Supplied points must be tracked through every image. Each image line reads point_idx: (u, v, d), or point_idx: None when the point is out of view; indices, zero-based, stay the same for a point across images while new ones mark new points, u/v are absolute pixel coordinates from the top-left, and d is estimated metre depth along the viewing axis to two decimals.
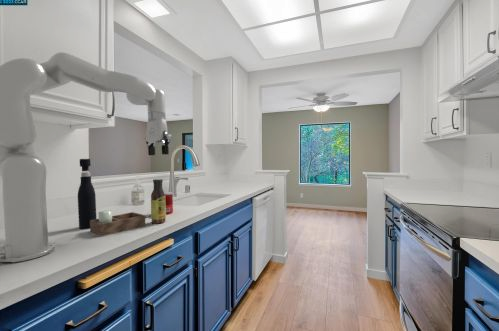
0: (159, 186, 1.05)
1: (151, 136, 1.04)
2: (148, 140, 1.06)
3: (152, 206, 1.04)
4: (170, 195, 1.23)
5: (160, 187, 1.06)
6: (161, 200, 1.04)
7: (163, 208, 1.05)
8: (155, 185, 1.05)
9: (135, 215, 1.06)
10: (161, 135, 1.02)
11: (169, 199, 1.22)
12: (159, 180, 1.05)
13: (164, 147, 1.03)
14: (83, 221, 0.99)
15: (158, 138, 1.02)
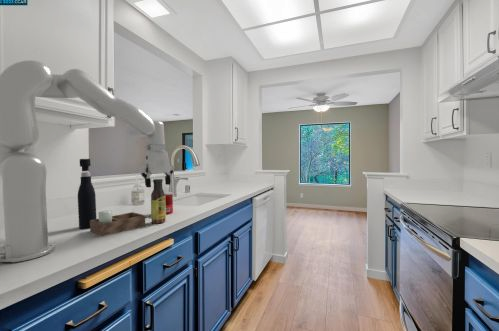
0: (159, 186, 1.05)
1: (159, 168, 1.04)
2: (154, 172, 1.02)
3: (152, 206, 1.04)
4: (170, 195, 1.23)
5: (160, 187, 1.06)
6: (161, 200, 1.04)
7: (163, 208, 1.05)
8: (155, 185, 1.05)
9: (135, 215, 1.06)
10: None
11: (169, 199, 1.22)
12: (159, 180, 1.05)
13: (169, 178, 1.10)
14: (83, 221, 0.99)
15: (168, 169, 1.08)
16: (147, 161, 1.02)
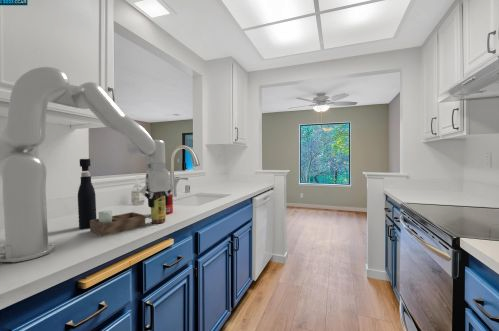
0: None
1: (159, 186, 1.04)
2: (154, 190, 1.02)
3: None
4: (170, 195, 1.23)
5: None
6: (161, 200, 1.04)
7: (163, 208, 1.05)
8: None
9: (135, 215, 1.06)
10: None
11: (169, 199, 1.22)
12: None
13: (167, 198, 1.09)
14: (83, 221, 0.99)
15: (169, 188, 1.08)
16: (147, 180, 1.02)
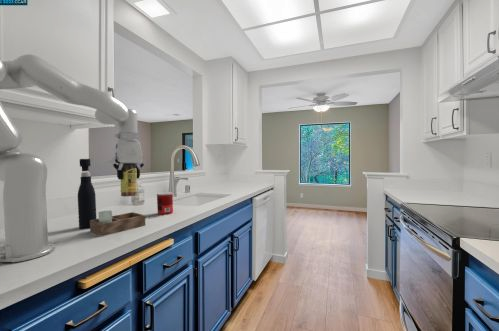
0: None
1: (130, 157, 0.99)
2: (124, 161, 0.97)
3: None
4: (170, 195, 1.23)
5: None
6: (131, 172, 0.99)
7: (133, 181, 1.00)
8: None
9: (135, 215, 1.06)
10: None
11: (169, 199, 1.22)
12: None
13: (139, 171, 1.04)
14: (83, 221, 0.99)
15: (140, 160, 1.03)
16: (116, 150, 0.97)
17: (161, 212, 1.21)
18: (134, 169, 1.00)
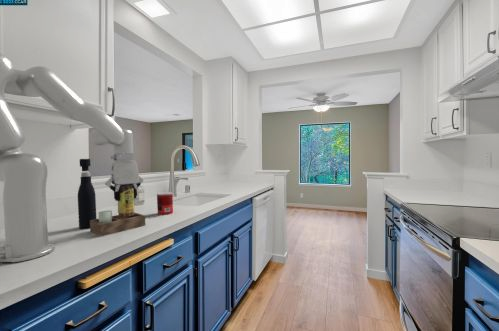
0: None
1: (126, 178, 0.99)
2: (120, 183, 0.97)
3: None
4: (170, 195, 1.23)
5: None
6: (128, 193, 0.99)
7: (131, 202, 1.00)
8: None
9: (135, 215, 1.06)
10: None
11: (169, 199, 1.22)
12: None
13: (136, 191, 1.04)
14: (83, 221, 0.99)
15: (137, 180, 1.02)
16: (113, 171, 0.96)
17: (161, 212, 1.21)
18: (131, 189, 1.00)
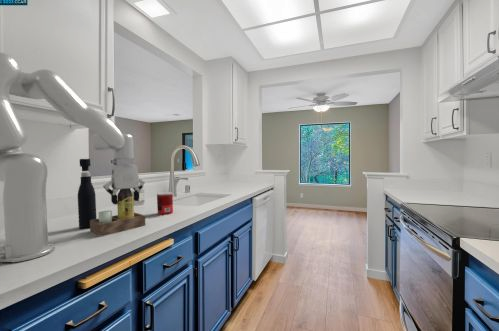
0: None
1: (126, 183, 0.99)
2: (120, 187, 0.97)
3: (118, 207, 0.98)
4: (170, 195, 1.23)
5: None
6: (128, 201, 0.99)
7: (130, 210, 1.00)
8: None
9: (135, 215, 1.06)
10: None
11: (169, 199, 1.22)
12: None
13: (138, 193, 1.04)
14: (83, 221, 0.99)
15: (137, 184, 1.02)
16: (113, 176, 0.96)
17: (161, 212, 1.21)
18: (131, 197, 1.00)
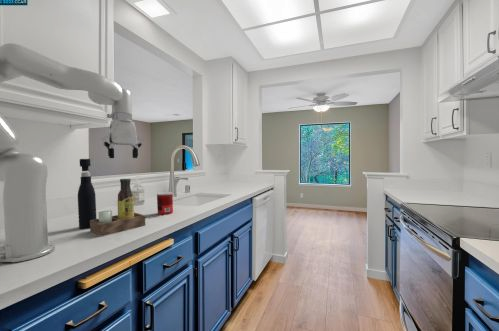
0: (126, 186, 0.99)
1: (124, 138, 0.98)
2: (118, 142, 0.96)
3: (118, 207, 0.98)
4: (170, 195, 1.23)
5: (127, 187, 1.00)
6: (128, 201, 0.99)
7: (130, 210, 1.00)
8: (122, 185, 0.99)
9: (135, 215, 1.06)
10: None
11: (169, 199, 1.22)
12: (126, 180, 0.99)
13: (137, 151, 1.04)
14: (83, 221, 0.99)
15: (135, 141, 1.02)
16: (111, 130, 0.96)
17: (161, 212, 1.21)
18: (131, 197, 1.00)
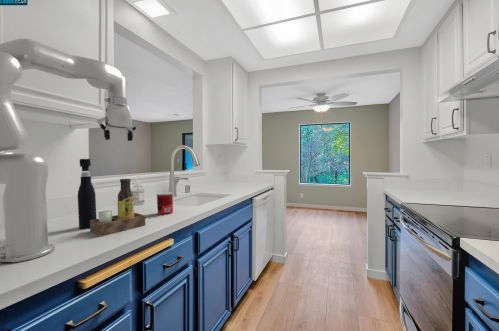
0: (126, 186, 1.00)
1: (119, 121, 1.04)
2: (114, 124, 1.02)
3: (118, 207, 0.98)
4: (170, 195, 1.23)
5: (127, 187, 1.00)
6: (128, 201, 0.99)
7: (130, 210, 1.00)
8: (122, 185, 0.99)
9: (135, 215, 1.06)
10: None
11: (169, 199, 1.22)
12: (126, 180, 1.00)
13: (131, 134, 1.10)
14: (83, 221, 0.99)
15: (130, 125, 1.08)
16: (106, 113, 1.02)
17: (161, 212, 1.21)
18: (131, 197, 1.00)
